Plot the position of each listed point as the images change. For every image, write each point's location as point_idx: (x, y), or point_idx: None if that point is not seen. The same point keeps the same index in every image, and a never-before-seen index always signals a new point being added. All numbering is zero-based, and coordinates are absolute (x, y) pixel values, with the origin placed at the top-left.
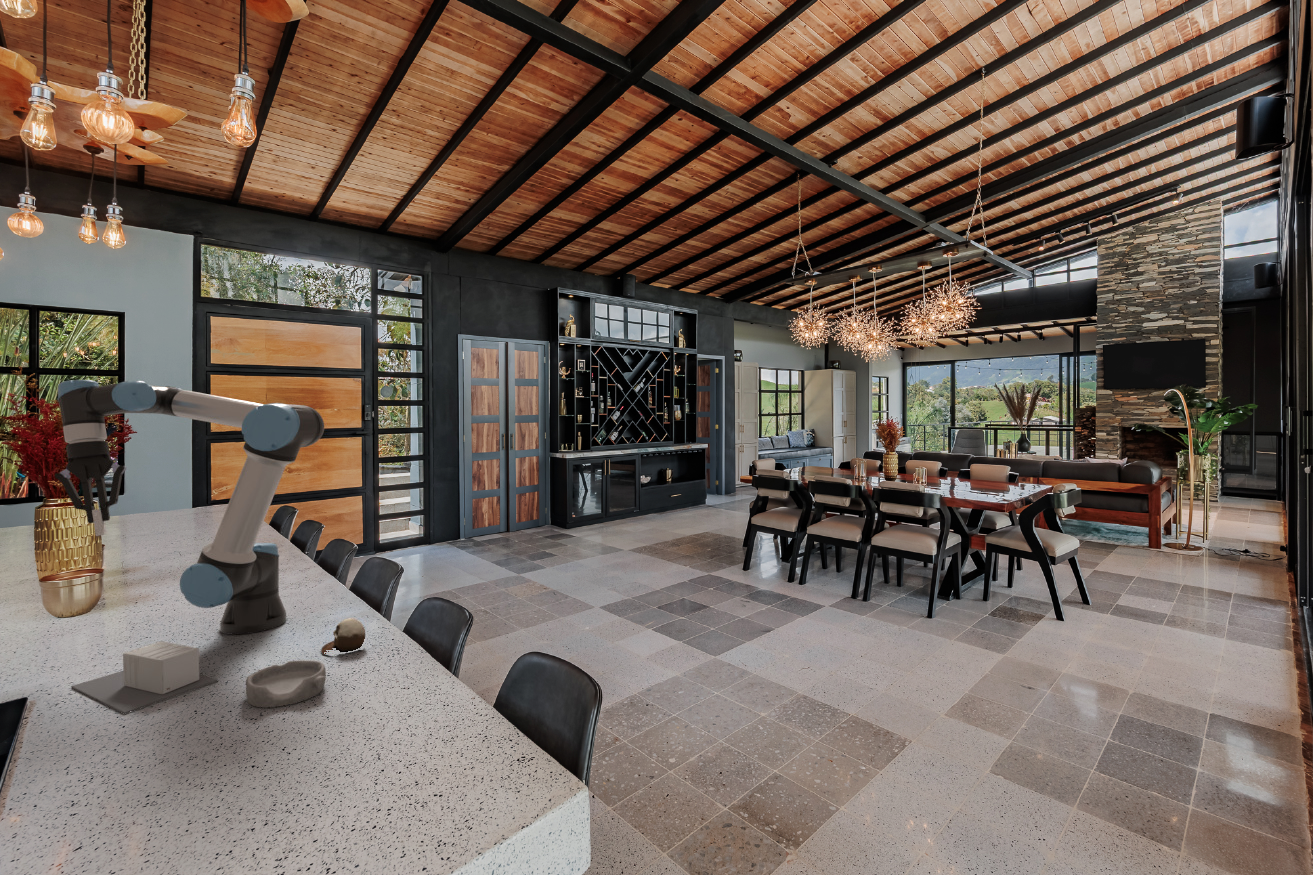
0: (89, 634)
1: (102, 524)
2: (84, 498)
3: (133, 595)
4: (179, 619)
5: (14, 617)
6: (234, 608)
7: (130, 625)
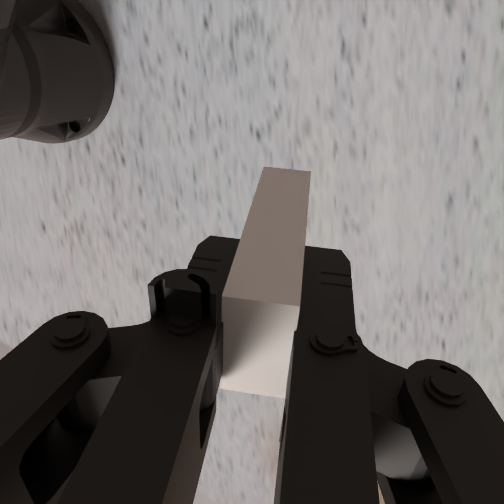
0: (370, 255)
1: (252, 205)
2: (367, 491)
3: None
4: None
5: None
6: (33, 17)
7: None
